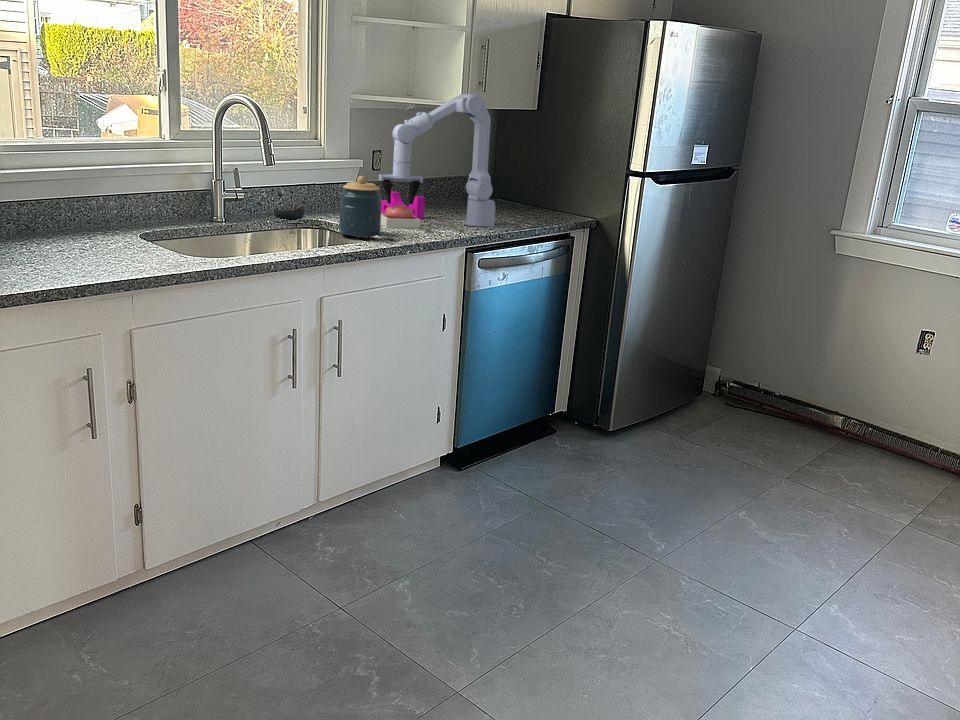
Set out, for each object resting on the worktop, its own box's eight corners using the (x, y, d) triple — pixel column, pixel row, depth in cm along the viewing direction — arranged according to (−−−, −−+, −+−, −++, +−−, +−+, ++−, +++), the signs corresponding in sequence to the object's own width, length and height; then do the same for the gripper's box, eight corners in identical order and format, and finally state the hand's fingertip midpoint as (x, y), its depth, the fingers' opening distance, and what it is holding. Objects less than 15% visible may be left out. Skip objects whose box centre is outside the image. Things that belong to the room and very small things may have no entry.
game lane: (433, 217, 321) (433, 214, 321) (463, 232, 291) (464, 230, 291) (398, 216, 317) (398, 213, 317) (426, 231, 287) (426, 229, 286)
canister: (345, 237, 265) (347, 177, 260) (333, 230, 276) (335, 172, 271) (386, 237, 270) (389, 179, 265) (373, 230, 281) (375, 174, 276)
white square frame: (410, 223, 302) (411, 214, 302) (420, 228, 292) (420, 219, 291) (377, 222, 298) (378, 213, 297) (386, 227, 288) (386, 218, 287)
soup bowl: (311, 221, 307) (312, 200, 305) (311, 228, 292) (311, 206, 290) (268, 219, 304) (268, 197, 302) (265, 226, 289) (265, 204, 287)
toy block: (381, 213, 315) (382, 191, 313) (393, 212, 320) (394, 191, 318) (411, 219, 307) (412, 197, 304) (423, 218, 311) (424, 196, 309)
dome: (408, 220, 300) (409, 203, 299) (415, 224, 292) (416, 206, 291) (382, 220, 297) (383, 202, 296) (389, 224, 289) (390, 206, 288)
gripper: (419, 161, 295) (417, 202, 299) (377, 159, 290) (375, 201, 294) (425, 163, 289) (423, 205, 293) (382, 161, 284) (381, 204, 288)
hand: (399, 203), depth 293 cm, fingers open, 7 cm apart
